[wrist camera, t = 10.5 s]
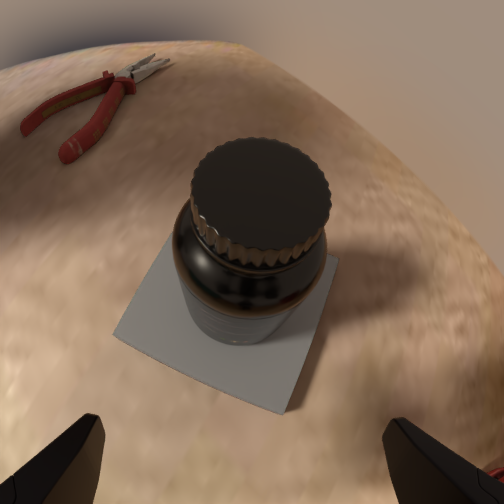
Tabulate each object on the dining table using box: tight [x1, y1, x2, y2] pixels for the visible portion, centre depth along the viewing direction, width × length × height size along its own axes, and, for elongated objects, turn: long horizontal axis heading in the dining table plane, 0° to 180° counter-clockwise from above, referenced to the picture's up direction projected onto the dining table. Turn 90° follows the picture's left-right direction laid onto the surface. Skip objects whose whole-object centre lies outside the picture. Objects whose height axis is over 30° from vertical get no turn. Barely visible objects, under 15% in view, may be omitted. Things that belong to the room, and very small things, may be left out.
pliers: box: [20, 53, 170, 164], centre depth 30 cm, size 12×20×3 cm, turn 149°
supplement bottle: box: [172, 137, 332, 346], centre depth 16 cm, size 7×7×12 cm
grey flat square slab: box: [112, 231, 339, 415], centre depth 22 cm, size 12×12×2 cm
